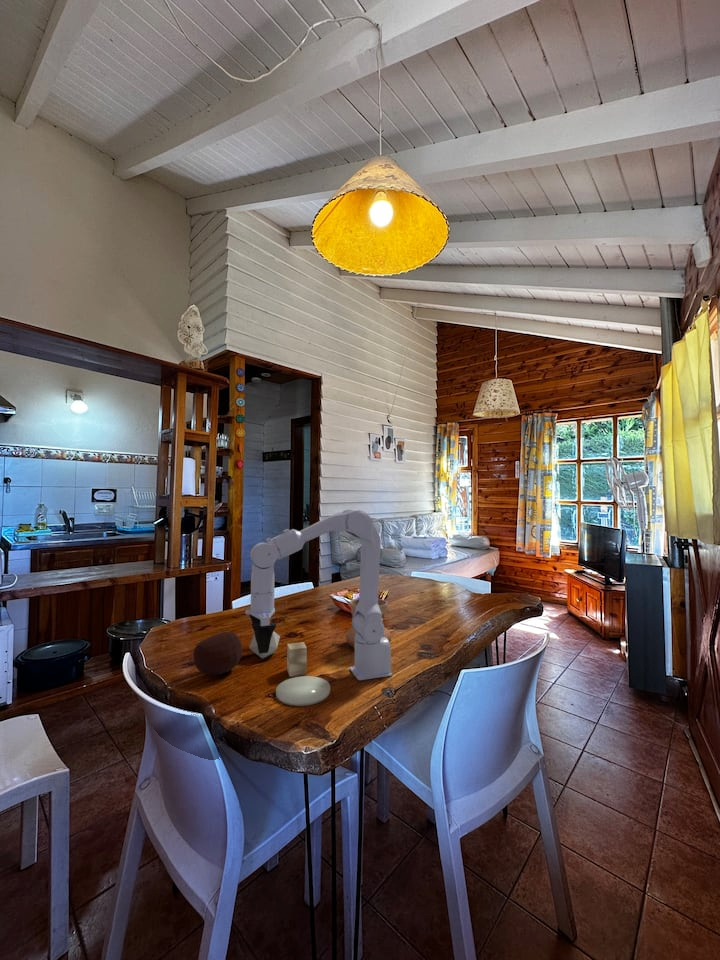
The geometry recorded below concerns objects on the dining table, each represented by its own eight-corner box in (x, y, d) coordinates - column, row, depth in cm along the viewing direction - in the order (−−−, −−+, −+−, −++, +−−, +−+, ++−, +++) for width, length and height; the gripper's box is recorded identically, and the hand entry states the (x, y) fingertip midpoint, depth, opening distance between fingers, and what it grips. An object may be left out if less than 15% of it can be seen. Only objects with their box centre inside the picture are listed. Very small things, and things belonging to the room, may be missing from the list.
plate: (323, 677, 105) (323, 673, 105) (336, 700, 93) (336, 696, 93) (272, 684, 101) (272, 680, 101) (279, 709, 88) (280, 705, 89)
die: (282, 659, 118) (286, 627, 124) (261, 652, 113) (266, 618, 119) (263, 664, 122) (267, 632, 128) (241, 657, 116) (247, 624, 123)
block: (303, 667, 111) (303, 642, 111) (306, 674, 107) (306, 647, 107) (287, 669, 110) (287, 643, 110) (289, 676, 105) (289, 649, 106)
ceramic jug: (401, 652, 122) (401, 605, 123) (357, 659, 117) (357, 610, 117) (376, 634, 139) (376, 593, 140) (337, 639, 133) (337, 596, 134)
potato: (185, 675, 106) (186, 635, 107) (230, 660, 116) (231, 624, 117) (204, 688, 99) (205, 645, 99) (251, 671, 108) (252, 632, 109)
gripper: (244, 586, 105) (243, 639, 104) (247, 599, 91) (246, 660, 91) (271, 584, 107) (271, 636, 107) (278, 597, 94) (278, 656, 93)
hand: (261, 647), depth 99 cm, fingers open, 7 cm apart
